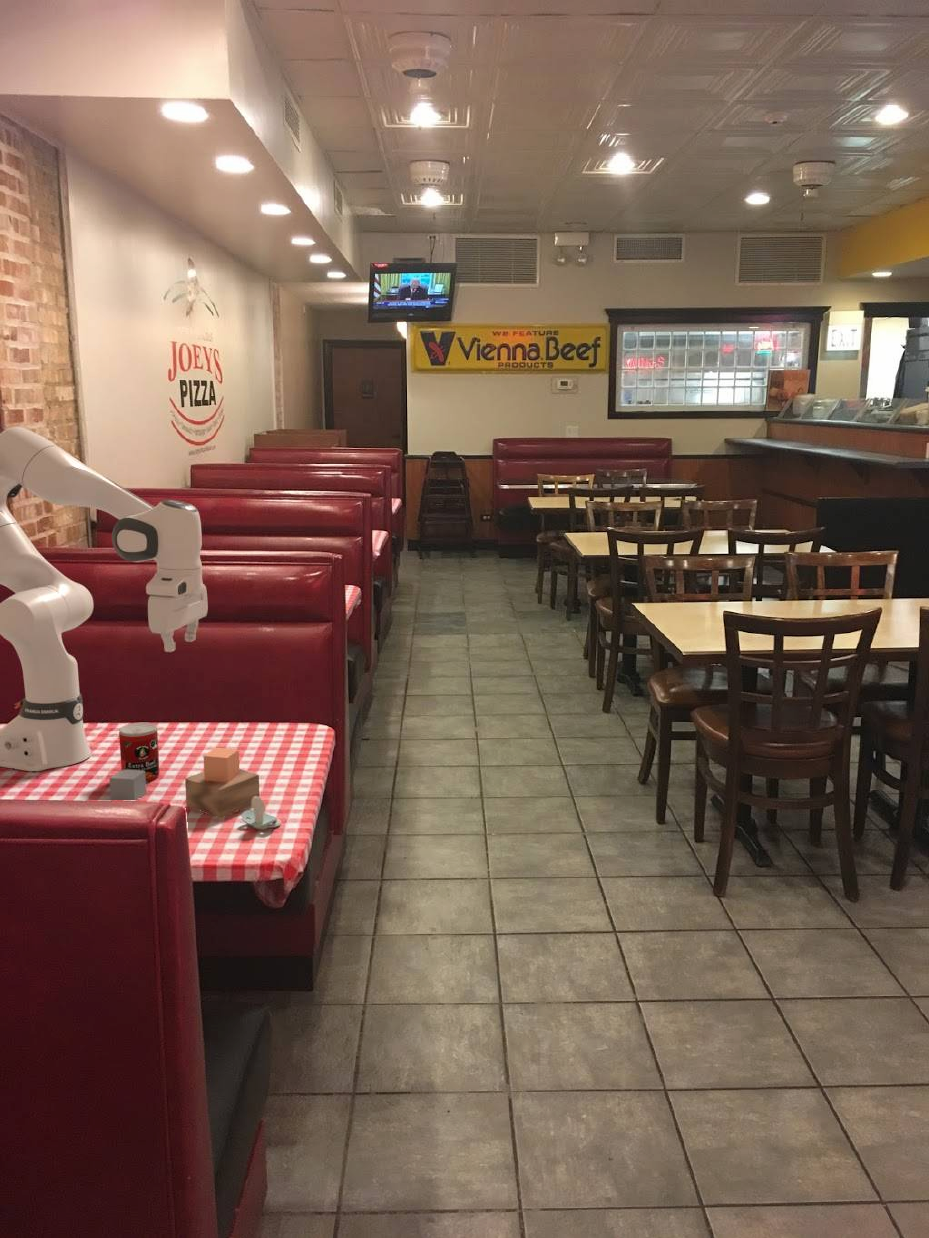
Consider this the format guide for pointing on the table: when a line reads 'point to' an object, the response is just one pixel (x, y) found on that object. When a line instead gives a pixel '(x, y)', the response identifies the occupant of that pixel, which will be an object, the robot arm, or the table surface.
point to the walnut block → (221, 793)
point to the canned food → (140, 748)
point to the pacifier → (259, 816)
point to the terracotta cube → (221, 765)
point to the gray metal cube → (128, 785)
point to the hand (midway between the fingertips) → (180, 646)
